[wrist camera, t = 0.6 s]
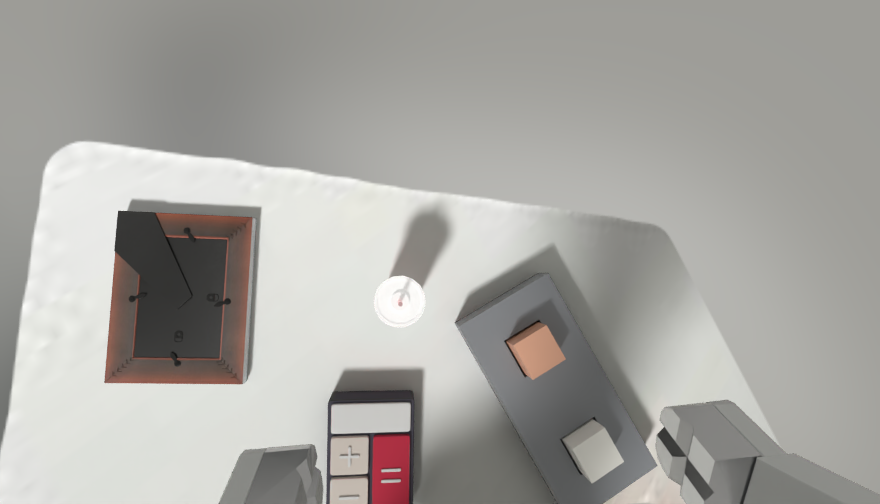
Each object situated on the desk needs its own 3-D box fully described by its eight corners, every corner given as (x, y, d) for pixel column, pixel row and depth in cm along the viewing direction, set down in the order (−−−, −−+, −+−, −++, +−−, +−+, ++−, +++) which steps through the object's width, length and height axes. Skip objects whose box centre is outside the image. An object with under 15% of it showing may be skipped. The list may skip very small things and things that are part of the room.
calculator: (325, 522, 53) (327, 402, 53) (329, 502, 58) (331, 391, 58) (412, 517, 55) (414, 400, 55) (411, 498, 59) (413, 389, 59)
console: (640, 453, 62) (657, 465, 58) (560, 508, 60) (572, 524, 56) (538, 273, 61) (548, 273, 57) (454, 323, 60) (459, 326, 56)
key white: (608, 448, 58) (624, 461, 54) (578, 469, 57) (592, 483, 54) (590, 417, 58) (604, 427, 54) (559, 437, 57) (572, 449, 53)
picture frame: (129, 213, 57) (116, 378, 55) (117, 210, 54) (102, 383, 53) (258, 219, 58) (248, 380, 57) (252, 217, 56) (241, 384, 55)
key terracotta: (554, 353, 58) (566, 359, 54) (523, 372, 57) (532, 379, 53) (536, 321, 58) (546, 324, 54) (505, 340, 57) (513, 345, 53)
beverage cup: (390, 267, 59) (389, 264, 45) (428, 289, 60) (439, 293, 46) (368, 306, 59) (360, 315, 45) (407, 327, 59) (411, 343, 45)
